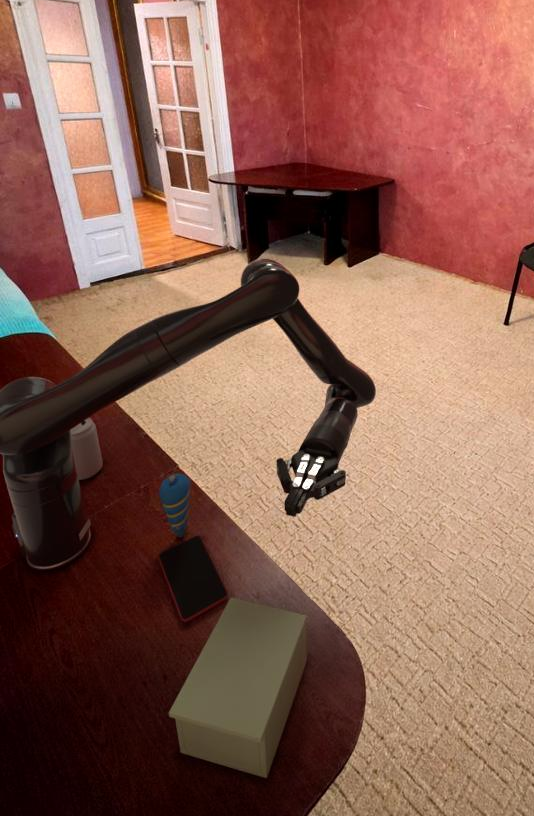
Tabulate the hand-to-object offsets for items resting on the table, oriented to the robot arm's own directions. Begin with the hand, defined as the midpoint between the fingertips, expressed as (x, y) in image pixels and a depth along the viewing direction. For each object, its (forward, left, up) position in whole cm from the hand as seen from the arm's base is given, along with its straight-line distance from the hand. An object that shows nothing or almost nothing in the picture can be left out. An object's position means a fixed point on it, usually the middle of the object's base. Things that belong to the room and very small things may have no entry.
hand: (290, 511), depth 74 cm
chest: (0, -15, -19) cm, 24 cm away
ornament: (-24, +6, -19) cm, 31 cm away
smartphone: (-18, -1, -19) cm, 26 cm away
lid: (0, -16, -10) cm, 19 cm away
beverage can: (-53, +16, -19) cm, 59 cm away
